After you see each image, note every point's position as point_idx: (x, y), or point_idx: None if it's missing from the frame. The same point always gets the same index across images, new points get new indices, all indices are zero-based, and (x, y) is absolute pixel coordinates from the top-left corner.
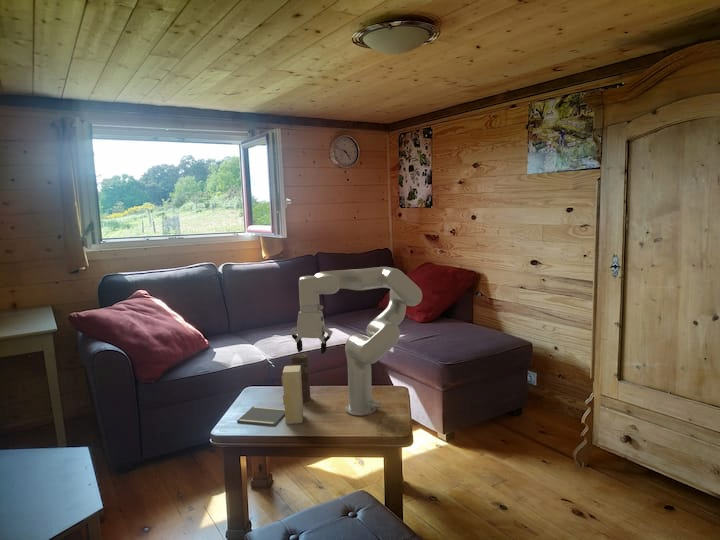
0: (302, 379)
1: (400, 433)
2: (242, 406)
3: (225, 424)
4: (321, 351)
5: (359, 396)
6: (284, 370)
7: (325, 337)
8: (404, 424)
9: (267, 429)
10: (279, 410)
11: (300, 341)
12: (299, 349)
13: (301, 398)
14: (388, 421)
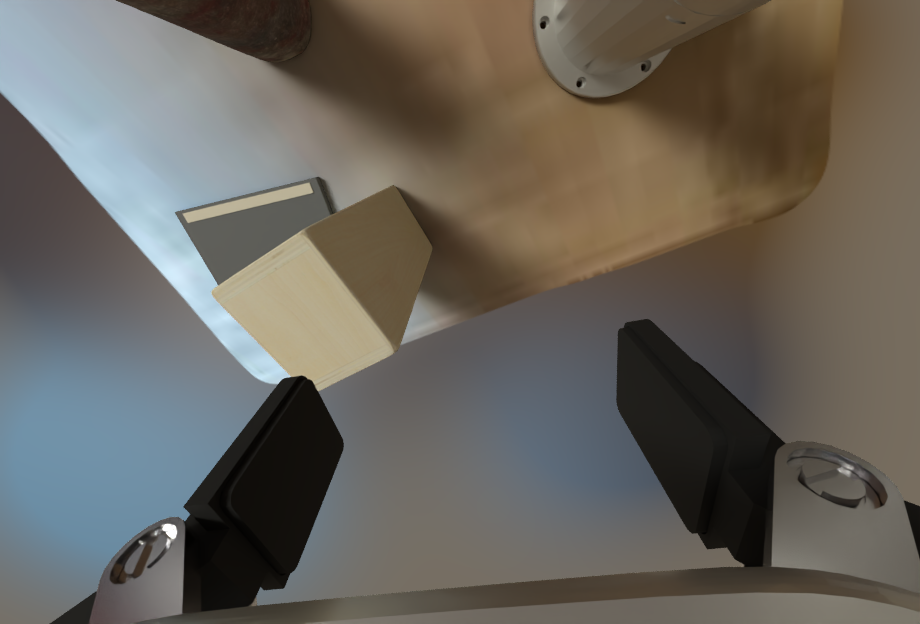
0: (228, 4)
1: (805, 177)
2: (131, 212)
3: (228, 341)
4: (631, 425)
5: (665, 50)
6: (289, 365)
7: (912, 567)
8: (830, 88)
9: None
10: (293, 202)
11: (247, 536)
12: (331, 473)
13: (408, 251)
14: (757, 88)
